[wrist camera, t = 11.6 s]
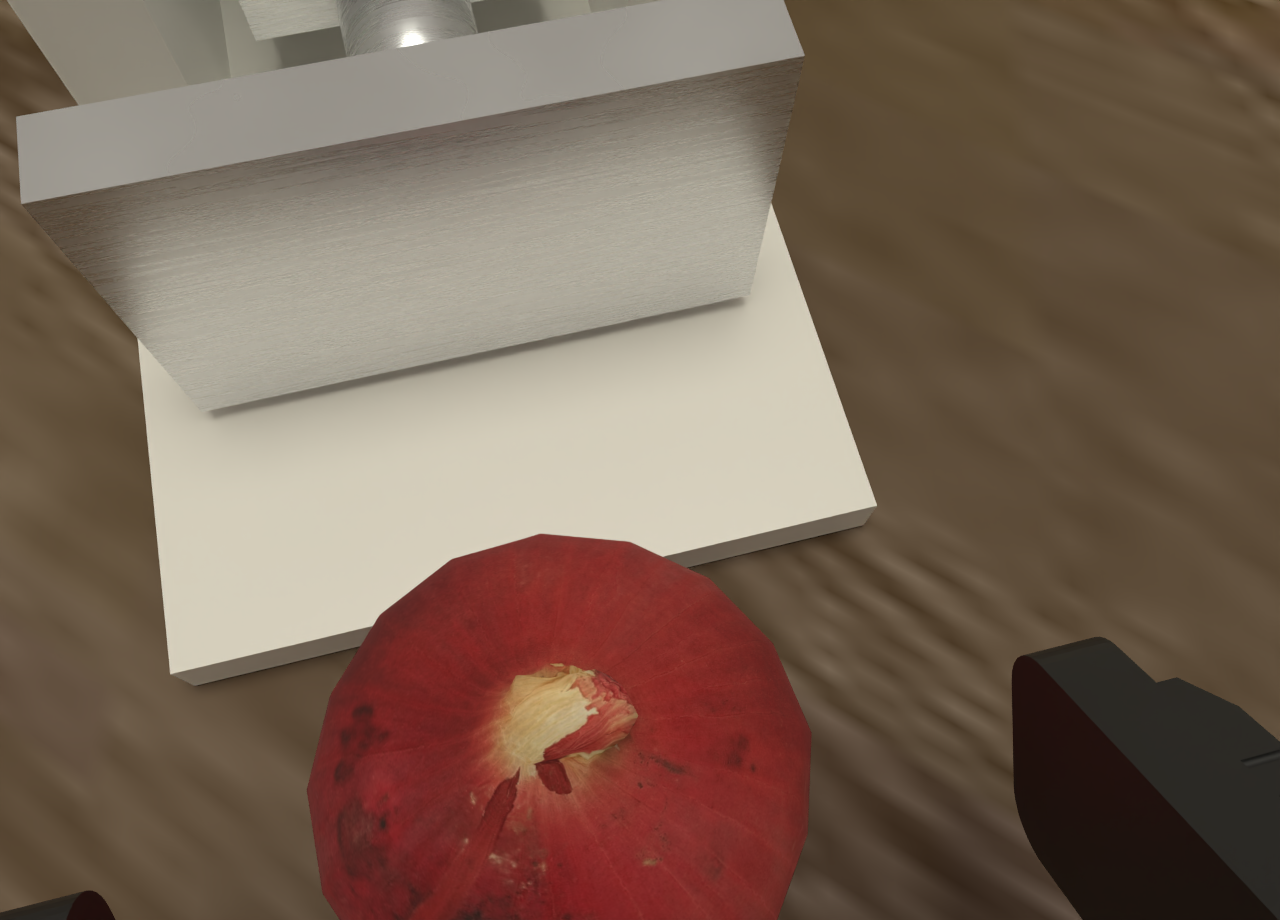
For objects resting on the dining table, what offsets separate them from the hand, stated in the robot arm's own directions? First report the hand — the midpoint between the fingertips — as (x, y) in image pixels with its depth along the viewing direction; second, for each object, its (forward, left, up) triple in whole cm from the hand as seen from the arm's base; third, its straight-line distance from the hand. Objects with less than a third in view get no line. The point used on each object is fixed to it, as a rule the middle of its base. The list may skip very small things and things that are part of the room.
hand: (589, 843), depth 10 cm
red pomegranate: (0, -1, -7) cm, 7 cm away
